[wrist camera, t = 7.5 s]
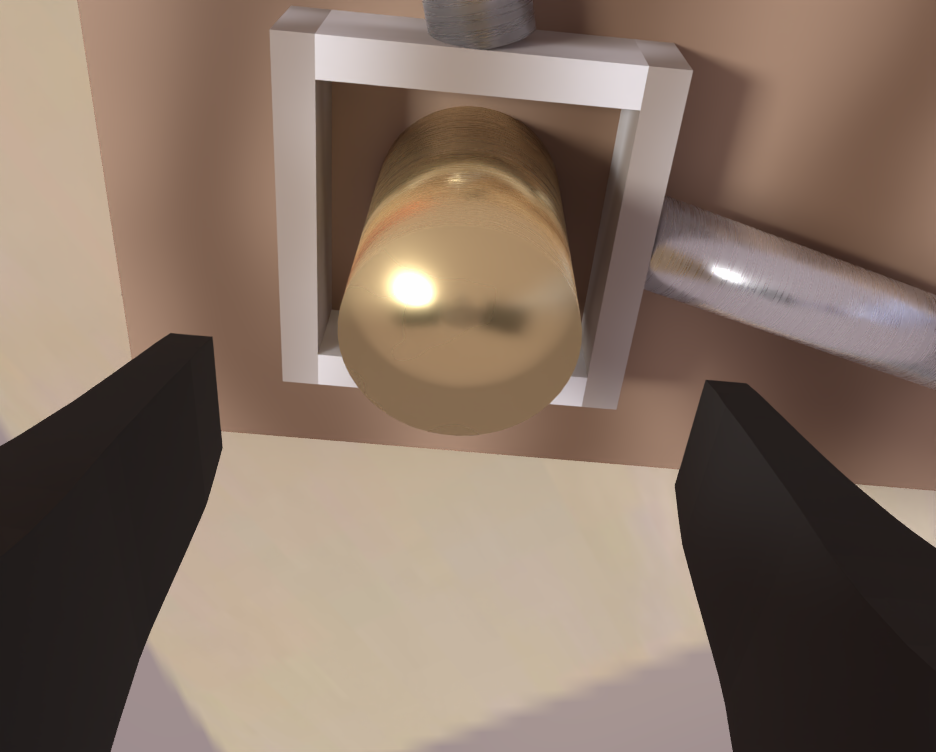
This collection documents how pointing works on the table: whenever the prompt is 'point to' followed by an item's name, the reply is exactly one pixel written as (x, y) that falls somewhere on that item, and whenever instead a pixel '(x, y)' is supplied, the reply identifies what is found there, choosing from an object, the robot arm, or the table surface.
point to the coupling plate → (581, 187)
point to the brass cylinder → (462, 278)
